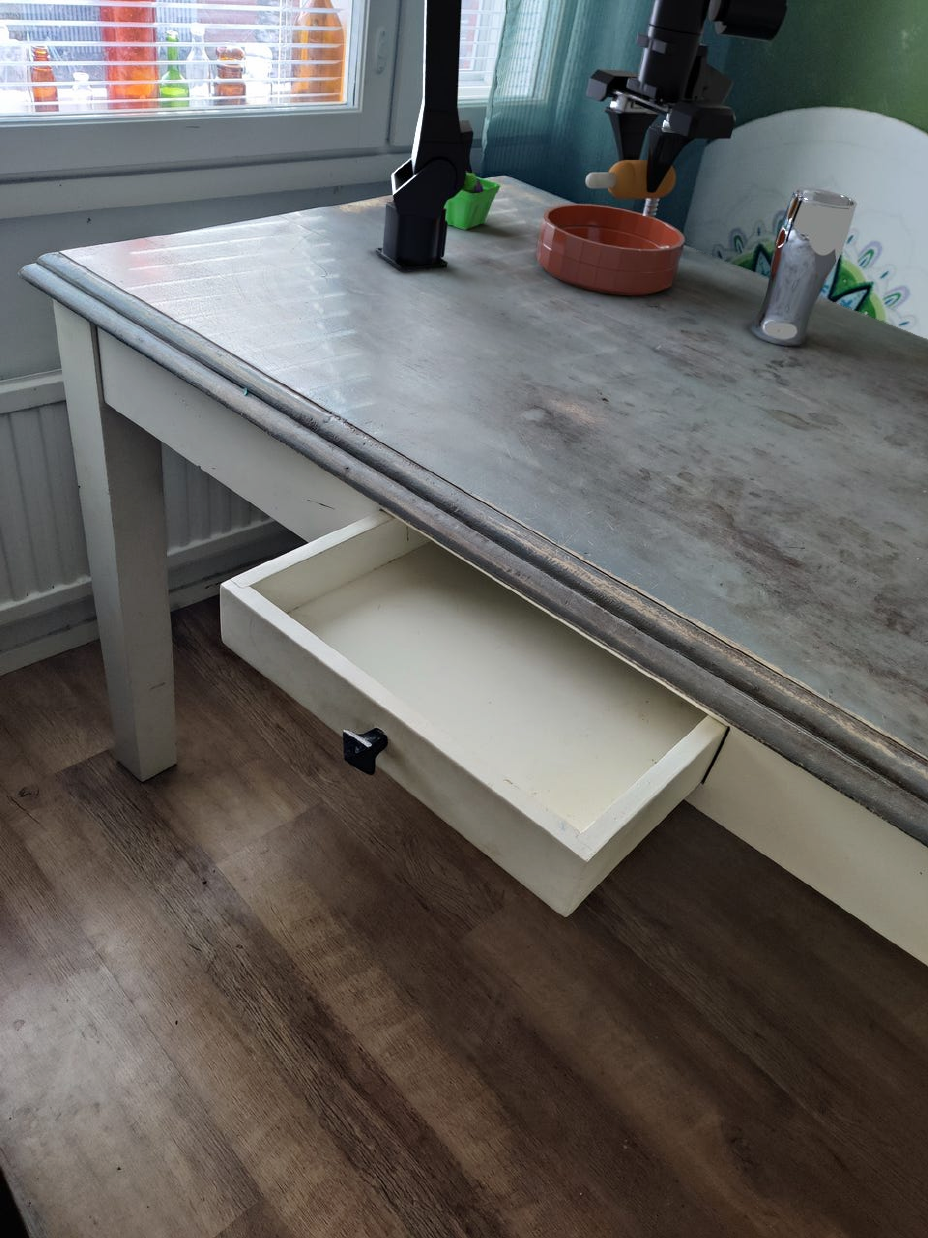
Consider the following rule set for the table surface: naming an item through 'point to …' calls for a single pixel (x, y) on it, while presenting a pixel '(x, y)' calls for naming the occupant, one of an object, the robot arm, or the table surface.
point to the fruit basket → (471, 202)
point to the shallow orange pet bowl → (609, 249)
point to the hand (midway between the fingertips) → (639, 186)
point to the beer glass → (802, 262)
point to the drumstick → (630, 180)
